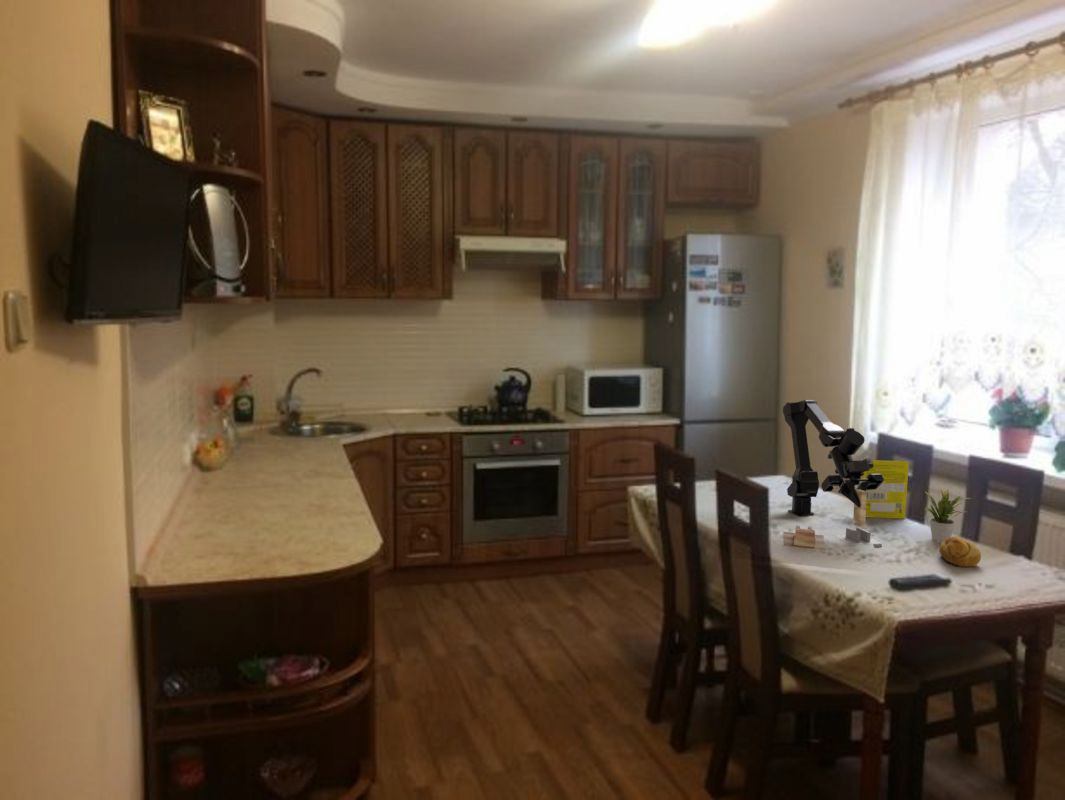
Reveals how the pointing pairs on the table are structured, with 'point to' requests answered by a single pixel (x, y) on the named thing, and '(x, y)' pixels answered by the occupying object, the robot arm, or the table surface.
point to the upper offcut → (805, 533)
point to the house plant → (943, 516)
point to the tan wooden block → (860, 509)
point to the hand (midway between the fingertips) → (862, 506)
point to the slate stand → (858, 537)
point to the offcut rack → (790, 542)
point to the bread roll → (960, 552)
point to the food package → (888, 490)
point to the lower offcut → (804, 542)
